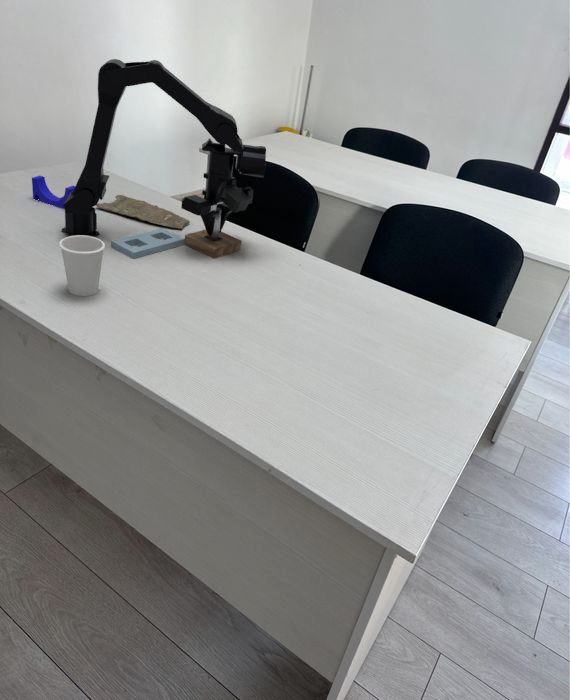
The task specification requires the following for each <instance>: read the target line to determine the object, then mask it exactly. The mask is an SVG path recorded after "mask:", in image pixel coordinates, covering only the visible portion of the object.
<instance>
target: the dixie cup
mask: <svg viewBox="0 0 570 700" xmlns="http://www.w3.org/2000/svg"><path fill="white" fill-rule="evenodd" d="M58 245H59V247H60V249H61V256H62V260H63V267H64V270H65V271H64V272H65V277H66V282H67V287H68V292H69V293H71V294H72V295H74V296H78V297H89V296H93V295H95V294H97V293H98V292H99V287H100V279H101V270H102V261H103V255H104V249H105V248H106V244H105V242H104V241H102V240H101V239H100V238H97V237H95V236H92V237H91V236H84V235H76V236H70V235H68V236H66V237H64V238H62V239H61V240H60V241H59V243H58Z"/></svg>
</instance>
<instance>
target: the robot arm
mask: <svg viewBox="0 0 570 700" xmlns="http://www.w3.org/2000/svg"><path fill="white" fill-rule="evenodd" d="M97 76H98V77H97V98H98V99H97V100H98V102H97V103H98V105H97V109H96V112H95V113H96V114H95V120H94V124H93V127H92V132H91V137H90V141H89V146H88V152H87V155H86V159H85V165H84V167H83V169H82V171H81V173H80V175H79V178H78V180H77V182H76V184H75V185H74V186H75V189H74V191H73V192H71V193H70V195H69V197H68V198H67V200H66V201H65V203H64V205H63V206H64V208H65V209H64V224H65V225H64V227H63V228H61V232H62V233H64V234H66V235H68V236H76V235H84V236H91V237H95V236H99V235H100V231H99V230H98V226H97V225H98V224H97V223H98V222H97V220H98V219H97V213H96V208H95V207H94V206H96V204H98V203H99V201H100V200H101V201H102V200H103V199H104V196H105V195H106V193H107V184H108V183H107V182H108V180H109V179H110V175H107V174H105V173H104V165H105V160H106V156H107V152H108V148H109V143H110V139H111V134H112V130H113V126H114V122H115V117H116V113H117V108H118V106H119V104H120V102H121V99H122V97H123V96H124V94H125V91H126V88H127V87H132V86H138V85H143V84H149V83H152V84H154V85H155V86H157V87H158V88H159V89H160V90H161V91H163V92H164V93H165V94H166V95H167V96H169V97H170V98H171V99H172V100H174V101H175V102H176V103H178V104H179V105H180V106H181V107H182V108H184V110H186V111H187V112H189V113H190V114H191V115H193V117H195V118H196V119H197V120H198V121H199V122H200V123H201V125H202V126H203V127H204V129H205V130H206V131H207V133H209V135H210V137H212V138H213V140H214V141H216V142H214V141H213V140H212V139H211V138H210V137H209V138H208V139H207V140H206V141H205V142H203V143H202V144H201V150H202V151H203V152H204V151H205V152H208V153H209V154H208V155H209V156H208V165H207V167H208V168H207V172H204V173H203V178H204V179H206V188H205V189H203V190H202V191H201V192H202V193H201V195H202V196H205V197H206V198H203V197H201V196H199V195H197V194H194V195H193V194H192V195H187V196H184V197H183V198H182V199H181V209H182V210H185V211H187V212H188V213H191V214H193V215H195V216H200V217H201V220H202V222H203V225H204V228H205V229H206V231H207V233H208V235H210V236H212V233H213V229H214V222H215V217H216V216H217V215H218V214H219V213H220V212H218V211H216V207H218V208H221V209H222V213H221V222H220V232H221V231H222V230H223V228H224V225H225V224H226V221H227V220H228V217H229V216H230V213H235V214H236V213H238V212H242V211H243V212H244V211H246V210H247V208H248V205H250V204H252V203H253V198H254V190H253V189H252V187H250V186H249V187H247V186H246V187H244V188H242V187H238V186H237V180H236V177H234V176H233V172H234V171H233V170H234V163H235V170H238V172H239V174H240V175H243V176H244V175H245V176H251V177H257V178H264V177H265V174H266V168H267V164H266V160H267V158H266V157H267V147H266V146H264V145H251V144H249V145H248V144H244V143H243V139H242V138H241V137H240V135H239V134H238V125H237V122H236V119H235V118H234V117H233V115H232V114H230V113H228V112H227V111H225V110H223V109H222V108H220V107H217V106H216V105H213V104H211V103H209V102H208V101H207V100H205V99H203V98H202V97H201V96H200V95H199V94H197V93H196V92H195V91H194V90H192V89H191V88H190V87H189V86H188V85H187V84H186V83H185V82H183V81H182V80H181V79H180V78H178V77H177V76H176V75H175V74H174V73H172V72H171V71H170V70H168V68H167V67H166V66H165V65H164V64H163V63H162V62H161V61H159V60H156V59H152V60H150V61H134V62H131V61H130V62H124V61H122V60H120V59H117V58H114V59H113V58H111V59H110V60H108V61H106V62H105V63H104V64H102V66H100V67H99V69H98V75H97ZM226 146H227V147H226ZM235 156H236V159H235ZM234 160H236V161H234ZM220 232H219V233H220Z"/></svg>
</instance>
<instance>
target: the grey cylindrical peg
mask: <svg viewBox="0 0 570 700" xmlns="http://www.w3.org/2000/svg"><path fill="white" fill-rule="evenodd" d="M216 211H218V212H220V213H219V214H218V215H217V216H216V217H215V222H214V229H213V233H212V236H210V235H209V236H208V239H209V240H211V241H213V242H215V241H218V240H219V232H220V222H221V213H222V209H221V208H218V207H216Z"/></svg>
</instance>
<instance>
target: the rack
mask: <svg viewBox="0 0 570 700" xmlns="http://www.w3.org/2000/svg"><path fill="white" fill-rule="evenodd" d="M160 239H162V240H160ZM184 241H185V237H182V236H180V235H178V234H176V233H174V232H171V231H169V230H167V229H165V228H163V227H162V228H157V229H154V230H149V231H145V232H141V233H136V234H133V235H129V236H124V237H122V238H117V239H113V240H111V241H110V247H111V248H113V249H115V250H117V251H118V252H121V253H122V254H124V255H126V256H127V257H130V258H131V259H137V258H142V257H145V256H149V255H151V254H152V255H153V254H155V253H159V252H162V251H166V250H169V249H172V248H177V247H180V246H183V245H184ZM136 245H137V246H138V247H137V246H136ZM134 246H136V247H134ZM184 246H185V245H184Z"/></svg>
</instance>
